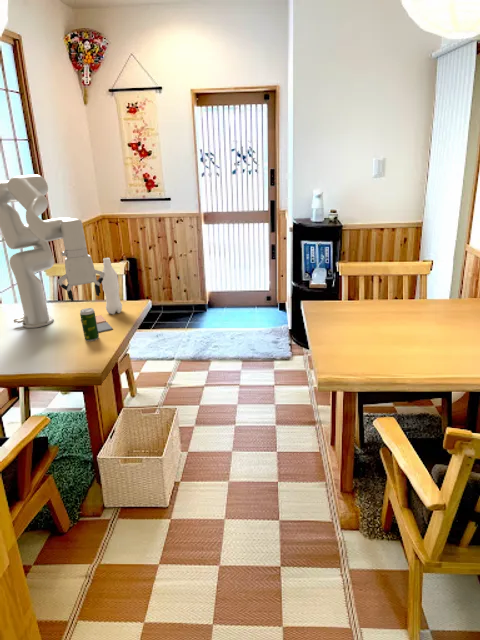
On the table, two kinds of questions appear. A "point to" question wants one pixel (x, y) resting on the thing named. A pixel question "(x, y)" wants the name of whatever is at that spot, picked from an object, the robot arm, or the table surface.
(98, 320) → the terracotta coaster
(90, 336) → the beer can
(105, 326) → the slate coaster
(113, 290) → the water bottle
